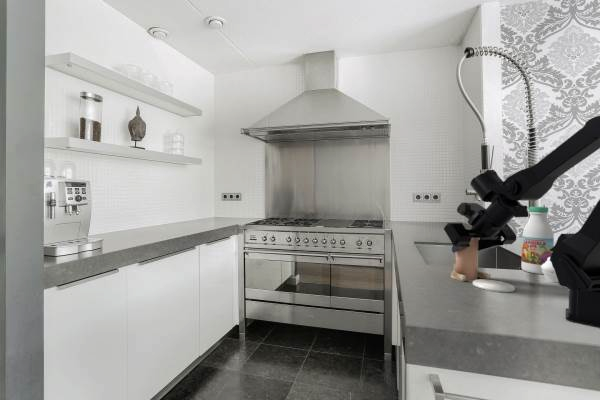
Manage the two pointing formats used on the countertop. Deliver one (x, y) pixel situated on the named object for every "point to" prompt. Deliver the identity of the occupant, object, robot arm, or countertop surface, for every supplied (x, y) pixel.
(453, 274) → the wooden blocks
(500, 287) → the white disc
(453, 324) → the countertop surface
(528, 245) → the milk bottle
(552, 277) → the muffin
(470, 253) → the salmon tan cylinder
